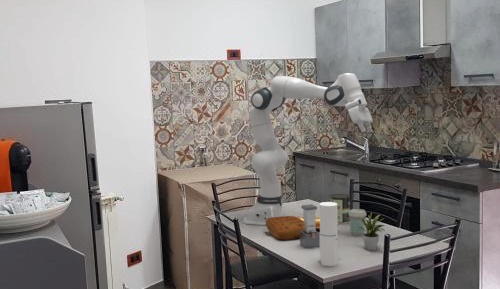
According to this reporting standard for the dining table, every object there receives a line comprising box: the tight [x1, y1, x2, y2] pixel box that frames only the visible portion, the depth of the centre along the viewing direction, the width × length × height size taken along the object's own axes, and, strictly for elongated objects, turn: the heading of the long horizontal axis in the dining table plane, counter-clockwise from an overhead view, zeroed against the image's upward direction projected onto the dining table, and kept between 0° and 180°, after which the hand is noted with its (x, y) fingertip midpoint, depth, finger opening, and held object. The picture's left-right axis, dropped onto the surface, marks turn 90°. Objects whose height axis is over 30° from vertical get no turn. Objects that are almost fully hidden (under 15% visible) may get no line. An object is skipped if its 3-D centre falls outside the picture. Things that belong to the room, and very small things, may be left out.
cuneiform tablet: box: [265, 215, 304, 241], centre depth 247 cm, size 22×17×8 cm
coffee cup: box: [349, 208, 367, 238], centre depth 245 cm, size 8×8×12 cm
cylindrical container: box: [319, 201, 339, 267], centre depth 207 cm, size 7×7×25 cm
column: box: [301, 203, 318, 234], centre depth 227 cm, size 5×5×18 cm
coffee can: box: [329, 193, 351, 225], centre depth 269 cm, size 10×10×14 cm
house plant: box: [357, 212, 386, 251], centre depth 224 cm, size 14×14×16 cm
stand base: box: [299, 230, 320, 250], centre depth 228 cm, size 12×12×8 cm
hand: (367, 131), depth 235 cm, fingers open, 8 cm apart
